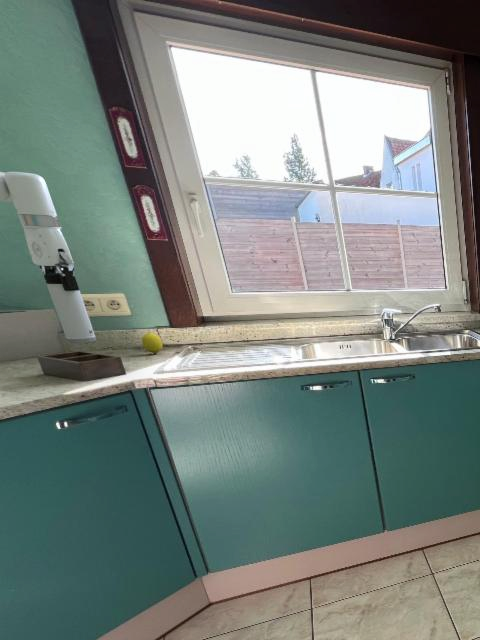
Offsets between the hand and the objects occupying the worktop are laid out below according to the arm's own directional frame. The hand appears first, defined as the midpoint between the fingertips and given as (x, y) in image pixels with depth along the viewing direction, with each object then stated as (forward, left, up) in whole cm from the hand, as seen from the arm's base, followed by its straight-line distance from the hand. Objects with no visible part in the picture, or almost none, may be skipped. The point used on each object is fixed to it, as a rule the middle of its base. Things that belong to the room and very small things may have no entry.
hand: (64, 289), depth 143 cm
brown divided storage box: (0, +5, -26) cm, 26 cm away
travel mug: (0, 0, -15) cm, 15 cm away
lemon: (+29, +21, -26) cm, 44 cm away
